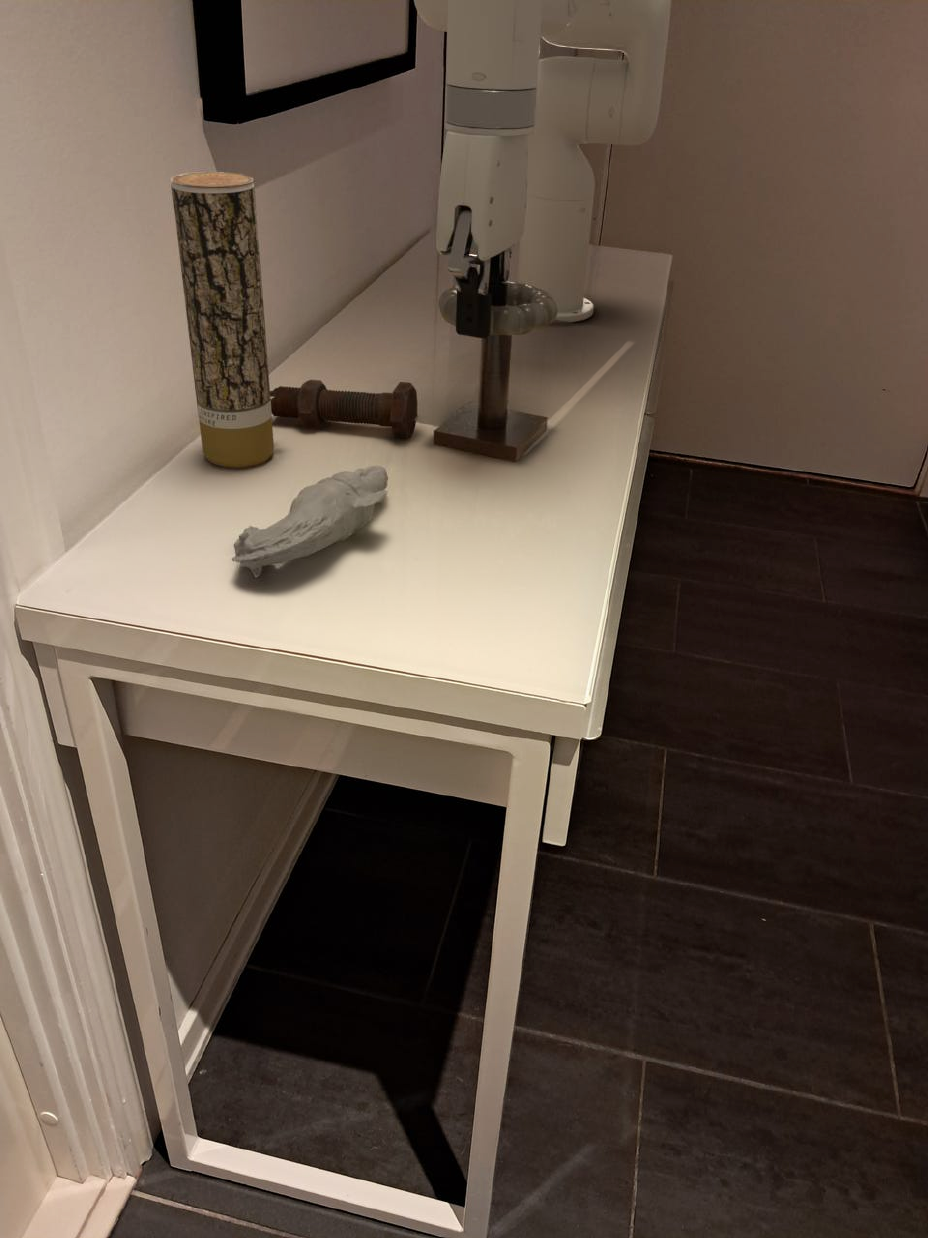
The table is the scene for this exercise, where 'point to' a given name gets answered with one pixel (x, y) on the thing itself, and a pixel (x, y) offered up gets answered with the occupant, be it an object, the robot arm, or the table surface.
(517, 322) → the bracelet
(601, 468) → the table surface
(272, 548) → the grey figurine
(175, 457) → the table surface
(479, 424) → the post
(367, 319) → the table surface
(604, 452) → the table surface
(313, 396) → the bolt
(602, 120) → the robot arm
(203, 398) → the paper tube
